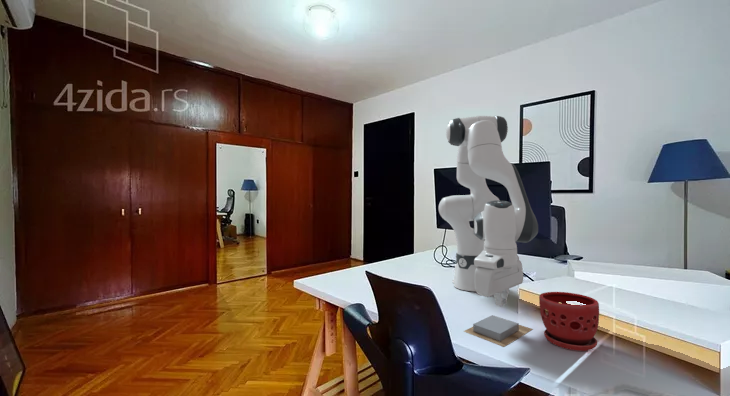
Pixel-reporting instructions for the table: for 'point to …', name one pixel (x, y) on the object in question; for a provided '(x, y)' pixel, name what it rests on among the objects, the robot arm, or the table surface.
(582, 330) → the plant pot
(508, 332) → the tile
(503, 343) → the cork mat
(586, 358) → the table surface
